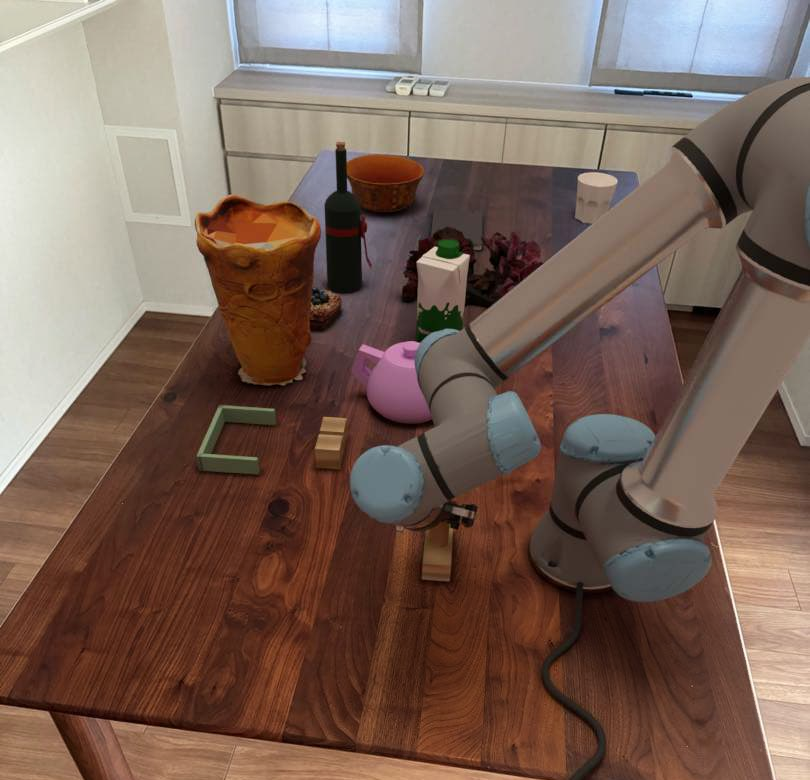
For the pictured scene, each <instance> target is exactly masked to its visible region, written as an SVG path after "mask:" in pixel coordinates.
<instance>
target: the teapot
mask: <svg viewBox="0 0 810 780" xmlns="http://www.w3.org/2000/svg"><path fill="white" fill-rule="evenodd" d="M419 345H420V343H418V342H415V340H410V341H404V342H403V341H401V342H398V343H394V344H392V345H391V346H389V347H388V348H386V350H384V351H383V350H380V349H377V348H374V347H372V346H369V345H367V344H363V343H362V345H361V346H360V347H359V349H358V351H357V353H356V356H355V359H354V362H353V364H352V367H351V370H350V374H351V375H352V376H353V377H354V378H355V379H356V380H357V381H358V382H359V383H360V384H361V385H362V386H363V387H364V388H365V389H366V397H367V400H368V402H369V404H370V406H371V407H372V408H373V409H374V410H375V411H376V412H377V413H379V414H380V415H381V416H382V417H383V418H385V419H387V420H390V421H392V422H396V423H400V424H410V425H412V424H423V423H426V422H429V421H433V420H432V417H431V414H430V410H429V408H428V405H427V403H426V400H425V398H424V395H423V394H422V391H421V389H420V388H419V385H418V381H417V374H416V369H415V363H414V360H415V354H416V351H417V349H418V347H419ZM368 360H369V361H372V362H373V363H375V364H374V366H373V368H372V370H371V369H370V368H369V367H368V366H367V362H368Z"/></svg>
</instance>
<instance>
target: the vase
mask: <svg viewBox="0 0 810 780" xmlns="http://www.w3.org/2000/svg"><path fill="white" fill-rule="evenodd" d="M194 228H195V232H196V235H197V236H196V247H197V250H198V251H199V253H200V254H201V255H202V256H203V261H204V263H205V266H206V268H207V270H208V274H209V277H210V281H211V287H212V289H213V292H214V294H215V298H216V302H217V305H218V310H219V312H220V314H221V317H222V320H223V322H224V325H225V328H226V332H227V336H228V338H229V340H230V342H231V345H232V348H233V350H234V352H235V355H236V358H237V360H238V362H239V364H240V365H241V368H239V370H238V372H237V375H238V376H240V377H239V378H240V379H241V381H242V382H244V383H247V384H253V385H261V386H273V385H280V386H283V387H285V385H287V384H290V383H291V384H292V383H293V380H294V381H301V380H303V376H302V374H304V373H306V372H307V370H306V369H305V367H306V365H307V360H306V358H305V355H306V351H307V349H308V348H309V346H310V345H311V344H312V340H313V339H312V335H311V331H310V309H311V297H312V287H313V286H314V285H313V284H314V277H315V276H314V275H315V272H314V271H315V269H314V266H315V265H314V263H315V255H316V250H317V249H316V248H317V247H318V245H319V242H320V241H321V237H322V229H321V224H320V221H319V220H318V219H317V218H316V217H315V216H314V215H311V214H310V213H308V211H306V209H305V207H304V206H302V205H299V204H297V203H295V202H293V201H287V200H285V201H279V202H273V203H268V204H264V203H259V202H255V201H253V200H251V199H248V198H246V197H244V196H241V195H236V194H228V195H226V196H225V197H223V198H221V199H220V200H219V201H218V202H217V203H216V205H215V206H214V207H213V208H212V209H211V210H210V211H209V212H202V211H200V212H197V213H196V215H195V218H194Z"/></svg>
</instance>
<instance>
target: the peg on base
mask: <svg viewBox="0 0 810 780" xmlns="http://www.w3.org/2000/svg"><path fill="white" fill-rule="evenodd" d="M451 500H452V501H453V499H451ZM450 525H451V524H448V523H447V521H446V520H445V521H444V523H443V522H441V523H440V524H438V525H437V526H436V527H434V528H432V529H430V530H426V531H424V532H425V533H424V545H423V555H422V567H421V568H422V569H421V580H423V581H424V580H426V581H438V582H450V581H451V573H452V559H453V556H452V555H453V539H454V529H452V528H450Z"/></svg>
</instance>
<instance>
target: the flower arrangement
mask: <svg viewBox="0 0 810 780" xmlns="http://www.w3.org/2000/svg"><path fill="white" fill-rule="evenodd" d="M443 239H452V240H456V241H458V242H459V252H461V253H464V254H467V255H470V258H469V266H468V273H467V282H466V294H465V304H474V305H478V306H484V307H488V308H490V307H491V306H492V305H493V304H495V303H496V302H497V301H498V300H499V299H501V298H502V297H503V296H504V295H506V294H507V293H508V292H509V291H511V290H512V289H513V288H514V287H515V286H517V285H518V284H519V283H520V282H522V281H523V280H524V279H525V278H527V277H528V276H529V275H530V274H532V273H533V272H534V271H535V270H536V269H538V268H539V267H540V266H541V265H543V264H544V263H545V262H546V261H545V262H543V261H542V262H541V260H540V258H541V253H542V250H541V248H540V247H541V246H540V245H539V243H537V242H536V241H535V240H530V241H527V240H523V241H521V238H520V236H519V235H518V234H517V232H515V231H512V232H511V234H510V239H509V240H508V239H507V237H506V236H504V235H503V234H501V233H500V232H498V231H497V232H495V233H493V234H492V237H490V238H487V237H485V236H483V235H482V236H481V240H482V243H483V245H484V246H485V248H487V250H488V251H489V255H490V256H489V259H488V261H489V264H490V265H491V266H493V267H492V270H490V269H489V268H488V267H487V268H485V271H484V272H483V274H475V267H474V265H475V264H476V263H477V258H476V257H475V252H474V250H472V249H471V244H472V241H471V239H470V238H468V239H465V237H464V235H463V233H462V232H461V231H458V230H456V229H455V228H452V227H448V226H446V227H445V228H443V229H441V230H439V229H438V231H436V232H435V233H434V235H433V234H432V237H431V236H430V237H429V236H428V237H426V238H423V239H419V240H418V241H417V242H418V250H410V251H409V254H408V256H409V257H408V259H407V260H406V269H405V270H403V272H402V273H403V276H404V277H405V279H407V278H408V280H407V283H405V285H403V286H402V288H401V302H405V303H412V302H414V301H415V299H416V295H418V271H417V263H416V262H417V261H418V260H419V259H420V258H422V256H423V255H424V254H426V253H427V252H428V251H430V250H431V249H432V248H433V247H438V242H439V241H440V240H443Z"/></svg>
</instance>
